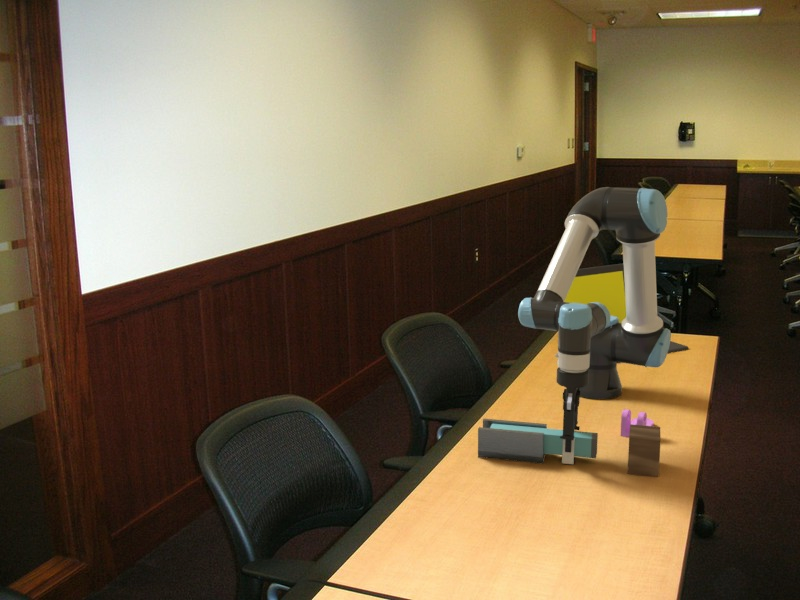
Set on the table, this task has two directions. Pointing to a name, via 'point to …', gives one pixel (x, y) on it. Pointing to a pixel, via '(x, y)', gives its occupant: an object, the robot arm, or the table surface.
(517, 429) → the bar
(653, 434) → the socket block
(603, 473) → the table surface
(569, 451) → the robot arm
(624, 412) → the bracket
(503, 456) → the sleeve
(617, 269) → the laptop
